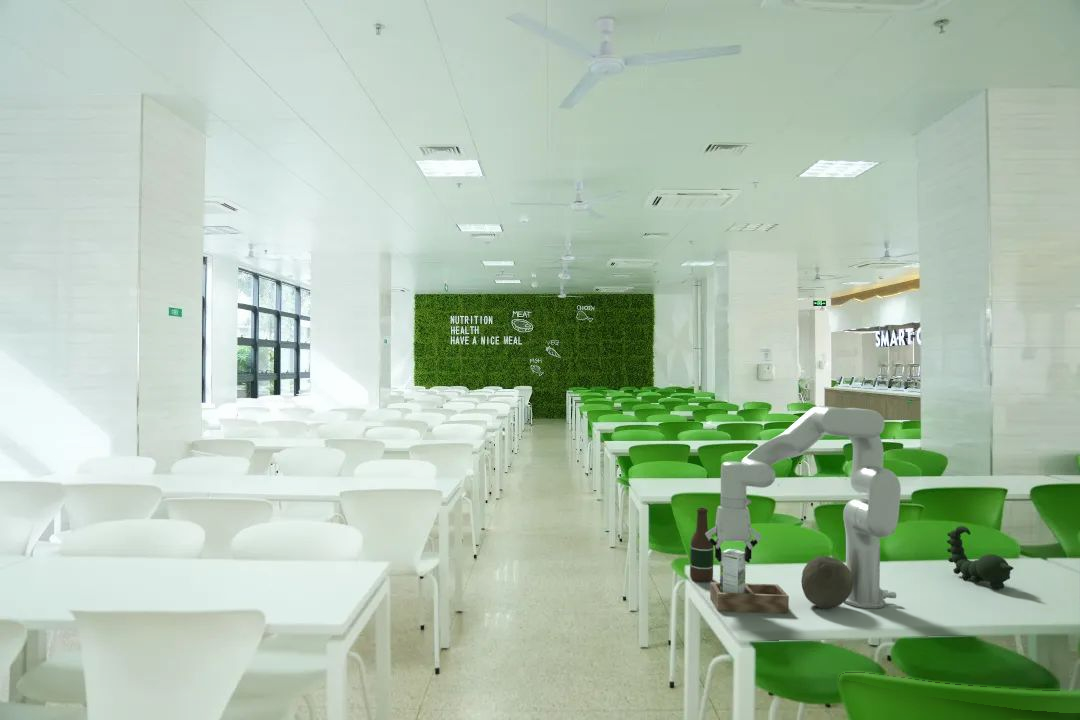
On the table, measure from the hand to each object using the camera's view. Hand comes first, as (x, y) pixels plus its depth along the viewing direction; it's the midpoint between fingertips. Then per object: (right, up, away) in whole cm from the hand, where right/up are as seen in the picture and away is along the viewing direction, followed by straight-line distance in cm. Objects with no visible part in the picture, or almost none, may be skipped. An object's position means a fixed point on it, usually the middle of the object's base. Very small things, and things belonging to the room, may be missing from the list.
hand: (733, 560), depth 205 cm
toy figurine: (+92, -15, +26) cm, 96 cm away
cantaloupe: (+28, -14, -1) cm, 31 cm away
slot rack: (+4, -13, 0) cm, 14 cm away
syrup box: (0, -12, 0) cm, 12 cm away
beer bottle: (-4, -14, +25) cm, 29 cm away
